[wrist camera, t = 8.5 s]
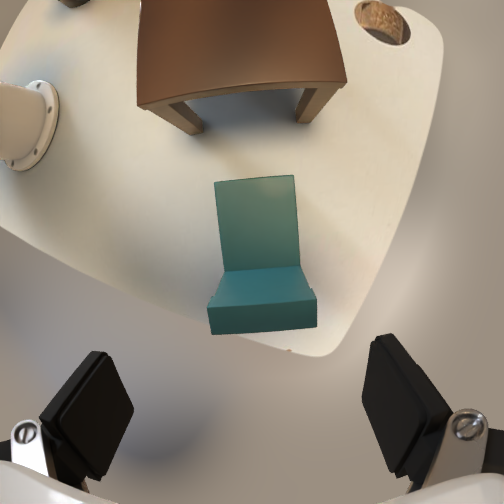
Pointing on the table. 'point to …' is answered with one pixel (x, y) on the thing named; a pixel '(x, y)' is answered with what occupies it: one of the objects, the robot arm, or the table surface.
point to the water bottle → (73, 2)
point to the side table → (235, 54)
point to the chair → (260, 259)
